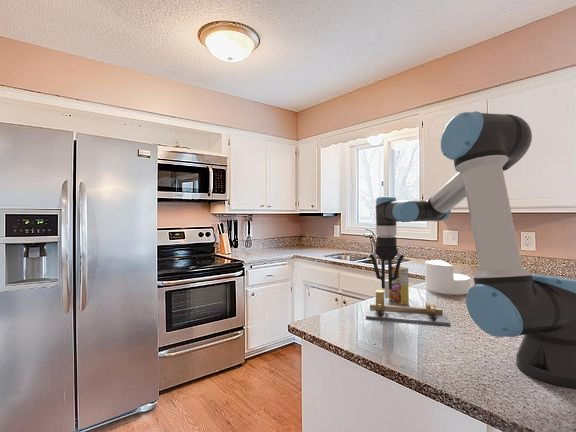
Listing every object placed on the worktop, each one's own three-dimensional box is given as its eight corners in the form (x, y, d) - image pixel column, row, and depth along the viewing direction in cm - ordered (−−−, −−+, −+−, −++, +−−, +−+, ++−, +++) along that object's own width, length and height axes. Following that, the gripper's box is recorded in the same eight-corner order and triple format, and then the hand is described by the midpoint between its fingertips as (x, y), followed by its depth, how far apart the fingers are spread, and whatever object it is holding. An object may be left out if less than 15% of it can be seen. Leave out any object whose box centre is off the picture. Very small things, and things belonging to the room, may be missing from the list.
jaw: (383, 316, 120) (383, 296, 120) (375, 315, 121) (375, 295, 121) (384, 309, 129) (384, 290, 129) (376, 308, 130) (376, 289, 130)
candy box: (387, 299, 145) (387, 265, 145) (396, 299, 146) (395, 264, 146) (400, 305, 136) (400, 268, 136) (409, 304, 137) (408, 268, 137)
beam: (445, 322, 114) (445, 309, 114) (369, 316, 122) (368, 304, 122) (441, 314, 123) (441, 302, 123) (370, 309, 131) (370, 298, 131)
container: (476, 295, 151) (476, 266, 151) (430, 293, 155) (430, 265, 154) (462, 285, 171) (461, 260, 171) (421, 284, 174) (421, 259, 174)
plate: (450, 325, 111) (450, 322, 111) (365, 318, 119) (365, 315, 119) (446, 318, 119) (446, 315, 119) (367, 312, 127) (367, 309, 127)
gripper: (403, 235, 129) (404, 295, 129) (369, 235, 132) (370, 293, 132) (404, 237, 121) (405, 300, 122) (368, 237, 125) (369, 298, 125)
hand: (386, 297), depth 127 cm, fingers closed
